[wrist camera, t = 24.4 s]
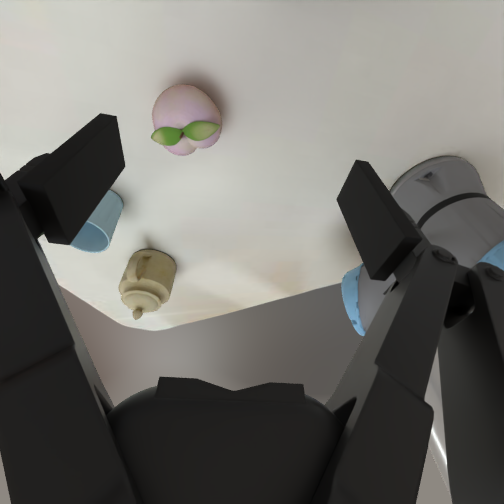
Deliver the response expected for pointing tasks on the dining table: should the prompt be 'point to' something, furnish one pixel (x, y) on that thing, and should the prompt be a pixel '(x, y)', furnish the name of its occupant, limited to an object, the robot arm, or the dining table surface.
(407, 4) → the dining table surface
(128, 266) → the sugar bowl
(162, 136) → the decorative fruit
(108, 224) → the cup
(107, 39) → the dining table surface
